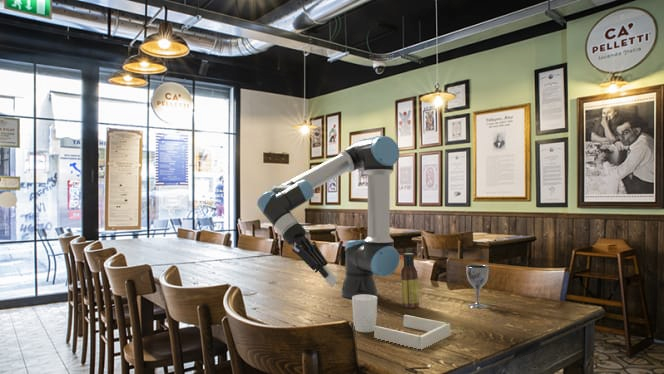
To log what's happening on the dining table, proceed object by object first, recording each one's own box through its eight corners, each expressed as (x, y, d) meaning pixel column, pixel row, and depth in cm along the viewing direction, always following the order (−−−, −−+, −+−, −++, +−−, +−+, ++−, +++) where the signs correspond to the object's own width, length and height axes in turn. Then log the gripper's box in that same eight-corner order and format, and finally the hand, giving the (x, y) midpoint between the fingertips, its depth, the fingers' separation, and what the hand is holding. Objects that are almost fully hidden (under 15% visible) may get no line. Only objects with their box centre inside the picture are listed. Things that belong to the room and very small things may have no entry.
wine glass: (463, 303, 172) (463, 264, 172) (483, 303, 173) (483, 264, 173) (471, 309, 164) (471, 268, 164) (492, 308, 165) (492, 267, 165)
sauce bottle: (420, 305, 169) (420, 252, 170) (416, 309, 164) (416, 254, 164) (403, 303, 172) (403, 252, 172) (399, 307, 166) (399, 253, 167)
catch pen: (374, 338, 130) (374, 326, 130) (405, 325, 143) (405, 314, 143) (421, 350, 120) (421, 337, 120) (450, 335, 133) (450, 323, 133)
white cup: (376, 334, 135) (376, 300, 135) (350, 332, 136) (350, 299, 137) (378, 326, 143) (378, 294, 143) (354, 325, 144) (354, 293, 144)
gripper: (293, 235, 158) (336, 287, 151) (273, 238, 147) (318, 295, 139) (306, 221, 156) (350, 273, 149) (287, 223, 144) (333, 279, 137)
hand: (334, 283), depth 144 cm, fingers closed
